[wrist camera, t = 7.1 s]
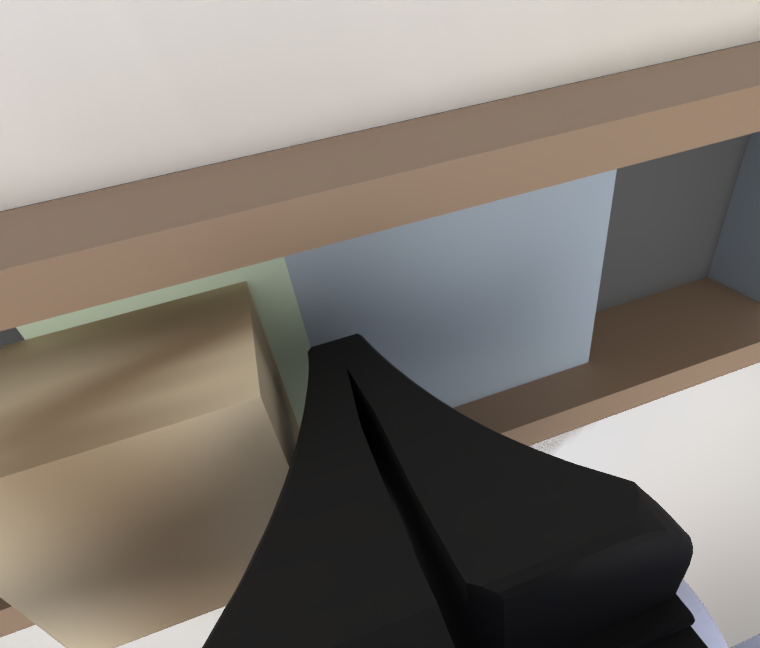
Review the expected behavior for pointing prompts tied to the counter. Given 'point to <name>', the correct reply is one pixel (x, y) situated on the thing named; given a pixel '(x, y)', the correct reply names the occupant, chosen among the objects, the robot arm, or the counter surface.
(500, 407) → the trap track
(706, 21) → the counter surface
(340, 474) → the robot arm
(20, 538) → the maple block
